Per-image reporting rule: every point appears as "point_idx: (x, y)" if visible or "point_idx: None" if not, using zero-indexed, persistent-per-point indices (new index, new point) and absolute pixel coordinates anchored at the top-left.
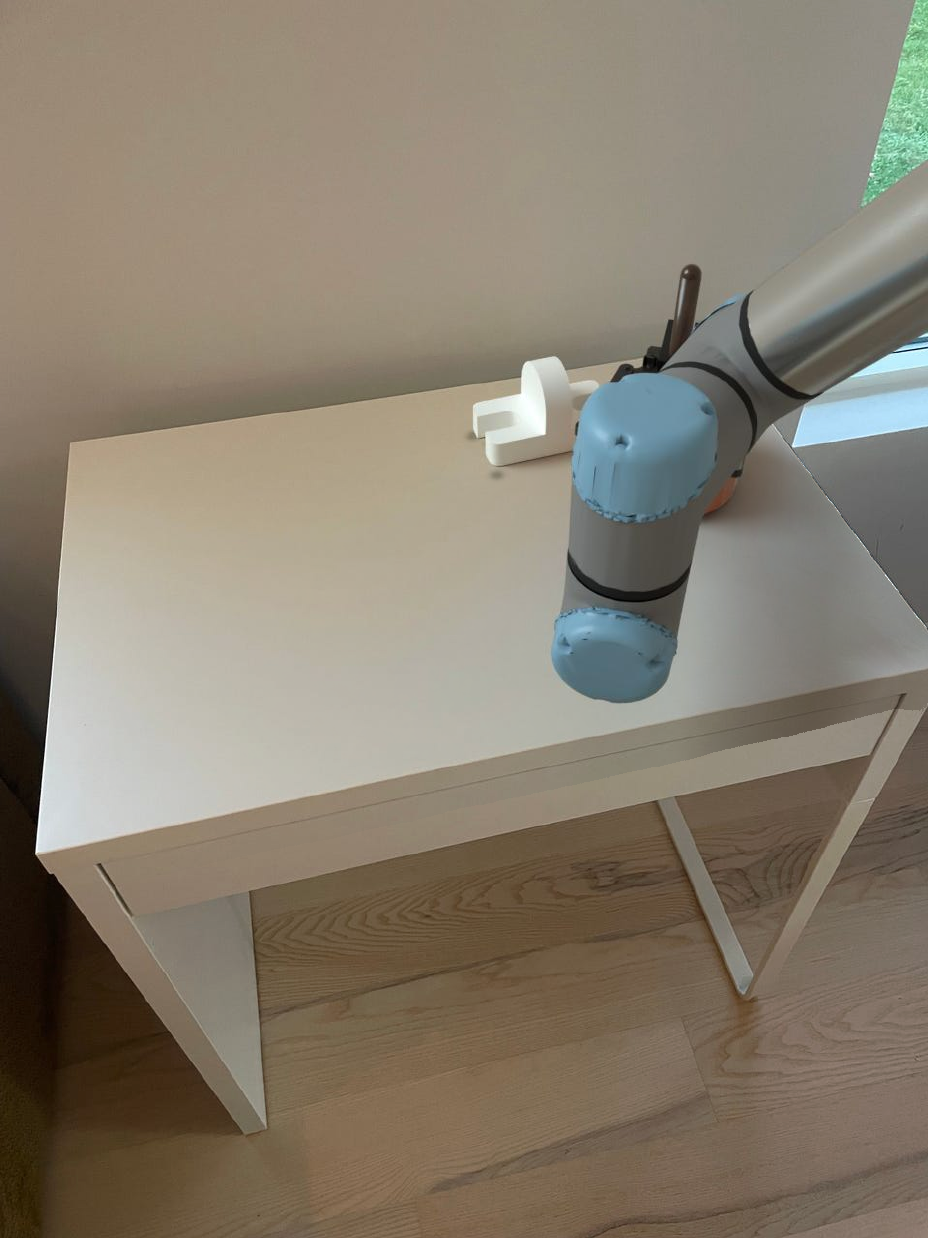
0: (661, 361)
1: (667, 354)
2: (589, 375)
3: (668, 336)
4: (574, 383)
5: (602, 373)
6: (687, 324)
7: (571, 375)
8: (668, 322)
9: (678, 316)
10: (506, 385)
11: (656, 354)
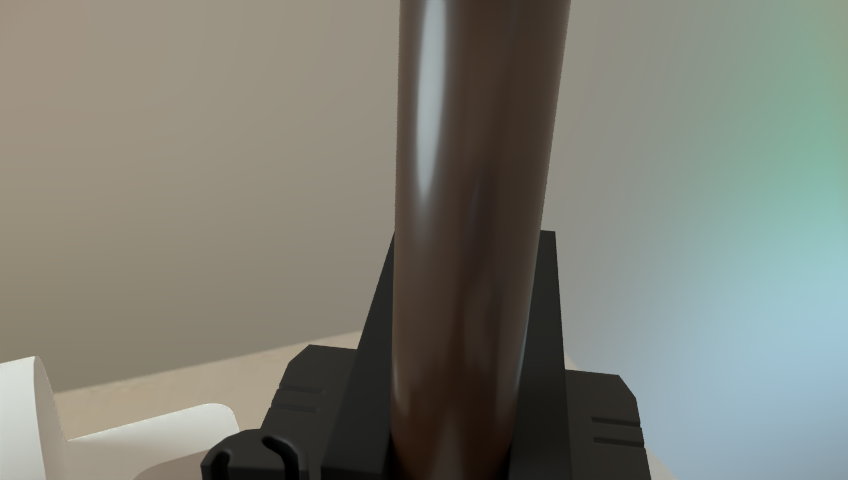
0: (343, 471)
1: (385, 411)
2: (242, 372)
3: None
4: (162, 417)
5: (276, 365)
6: (500, 224)
7: (195, 374)
8: None
9: (424, 162)
10: None
11: (331, 399)
